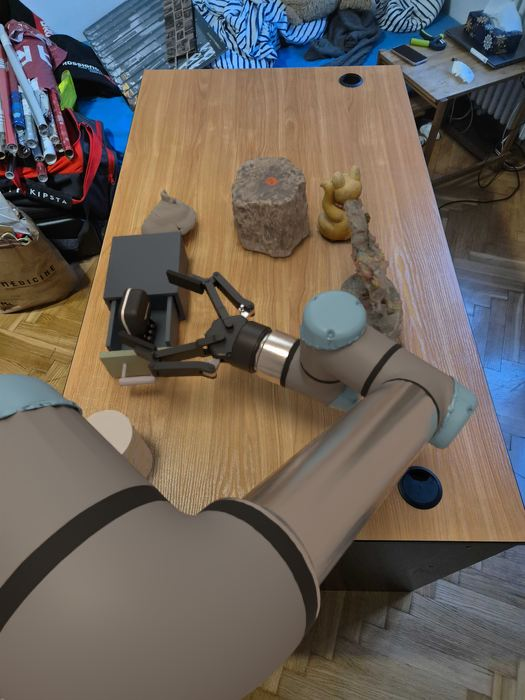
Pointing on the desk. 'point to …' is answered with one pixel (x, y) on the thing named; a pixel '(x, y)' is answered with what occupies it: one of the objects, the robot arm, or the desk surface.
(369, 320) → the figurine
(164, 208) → the grey clay mound
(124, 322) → the battery charger
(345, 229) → the decorative figurine
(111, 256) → the cabinet
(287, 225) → the petrified wood
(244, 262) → the desk surface
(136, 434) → the cup
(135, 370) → the drawer
